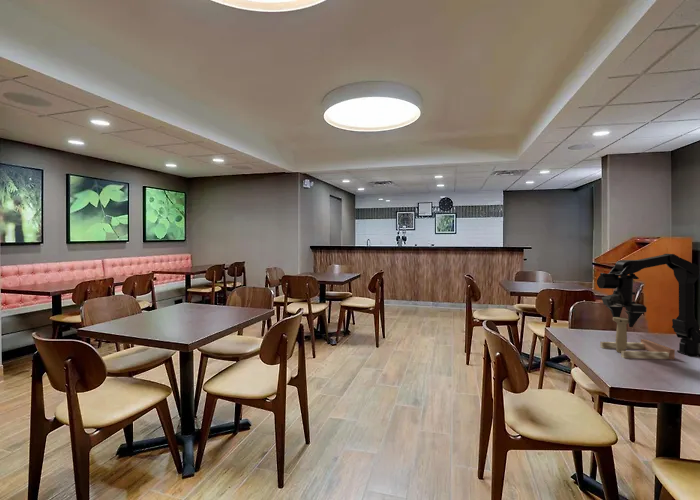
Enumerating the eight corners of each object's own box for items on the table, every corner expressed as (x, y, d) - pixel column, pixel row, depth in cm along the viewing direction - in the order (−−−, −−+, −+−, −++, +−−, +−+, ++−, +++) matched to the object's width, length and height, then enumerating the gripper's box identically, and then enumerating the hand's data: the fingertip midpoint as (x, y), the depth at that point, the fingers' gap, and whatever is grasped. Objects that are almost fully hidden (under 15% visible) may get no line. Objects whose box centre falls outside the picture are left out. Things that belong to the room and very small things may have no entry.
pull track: (645, 348, 166) (645, 339, 166) (674, 359, 150) (674, 349, 150) (600, 346, 168) (600, 338, 168) (624, 358, 152) (624, 348, 152)
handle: (629, 355, 155) (630, 320, 155) (610, 352, 160) (611, 318, 160) (631, 353, 159) (631, 318, 158) (613, 349, 163) (614, 316, 163)
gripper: (592, 286, 168) (591, 319, 169) (620, 291, 150) (618, 329, 150) (617, 286, 168) (616, 320, 168) (648, 292, 149) (646, 330, 150)
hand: (623, 324), depth 159 cm, fingers open, 9 cm apart
